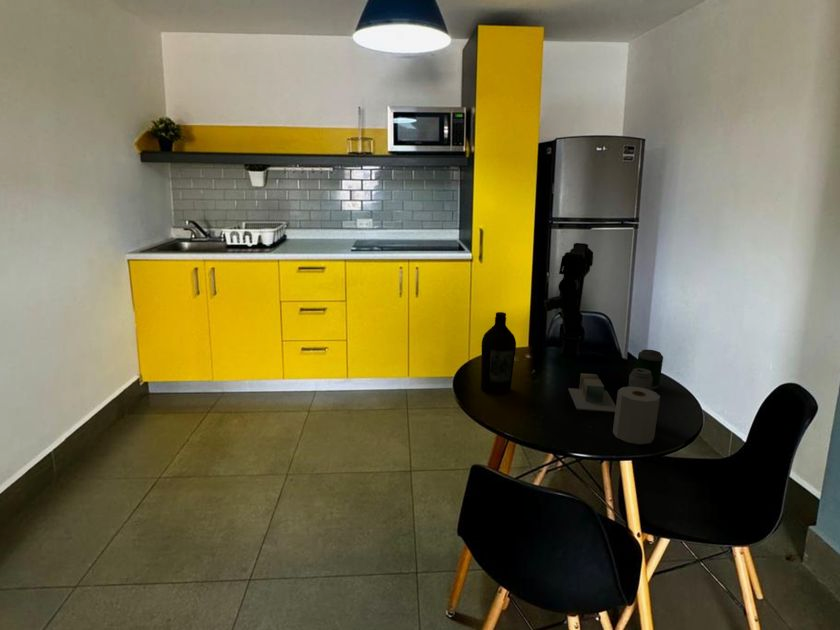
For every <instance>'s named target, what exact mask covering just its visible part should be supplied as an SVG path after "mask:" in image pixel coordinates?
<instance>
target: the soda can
mask: <svg viewBox="0 0 840 630" xmlns="http://www.w3.org/2000/svg"><path fill="white" fill-rule="evenodd" d="M663 363H664V356H663V354H662V352H661V351H658V350H654V349H642V350H641V351H640V352H638V356H637V362H636V368H644V369H647V370H650V371H651V375H652V377H653V381H652V388H651V391H655V390H656V389H658V388H659V387H660V383H661V382H660V381H661V374H662V369H663V368H662V367H663ZM654 389H655V390H654Z"/></svg>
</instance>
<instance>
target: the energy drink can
mask: <svg viewBox="0 0 840 630" xmlns="http://www.w3.org/2000/svg"><path fill="white" fill-rule="evenodd" d="M628 378H629V379H628V384H627V387H631V386H632V387H640V388H645V389H648V390H651V388H652V381H653V377H652V375H651V371H650V370H647V369H644V368H637V367H635V368H632V371H631V372H630V374H629V377H628ZM651 391H652V390H651Z"/></svg>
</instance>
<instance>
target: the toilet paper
mask: <svg viewBox="0 0 840 630" xmlns="http://www.w3.org/2000/svg"><path fill="white" fill-rule="evenodd" d="M660 400H661V396H660V395H659V394H658V393H657V392H656V391H655V390H648V389H645V388H640V387H632V386H631V387H628V386H624V387H621V388H619V389H618V390H617V395H616V402H615V403H616V404H615V405H616V410H615V412H614V419H613V428H612V433H613V435H614V437H616V439H619V440H622V441H623V442H626V443H629V444H635V445H647V444H651V443H652V442H653V441H654V439H655V435H656V434H655V433H656V428H657V427H656V426H657V420H658V415H659V414H658V413H659V408H660V407H659V406H660V402H661V401H660Z"/></svg>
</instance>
